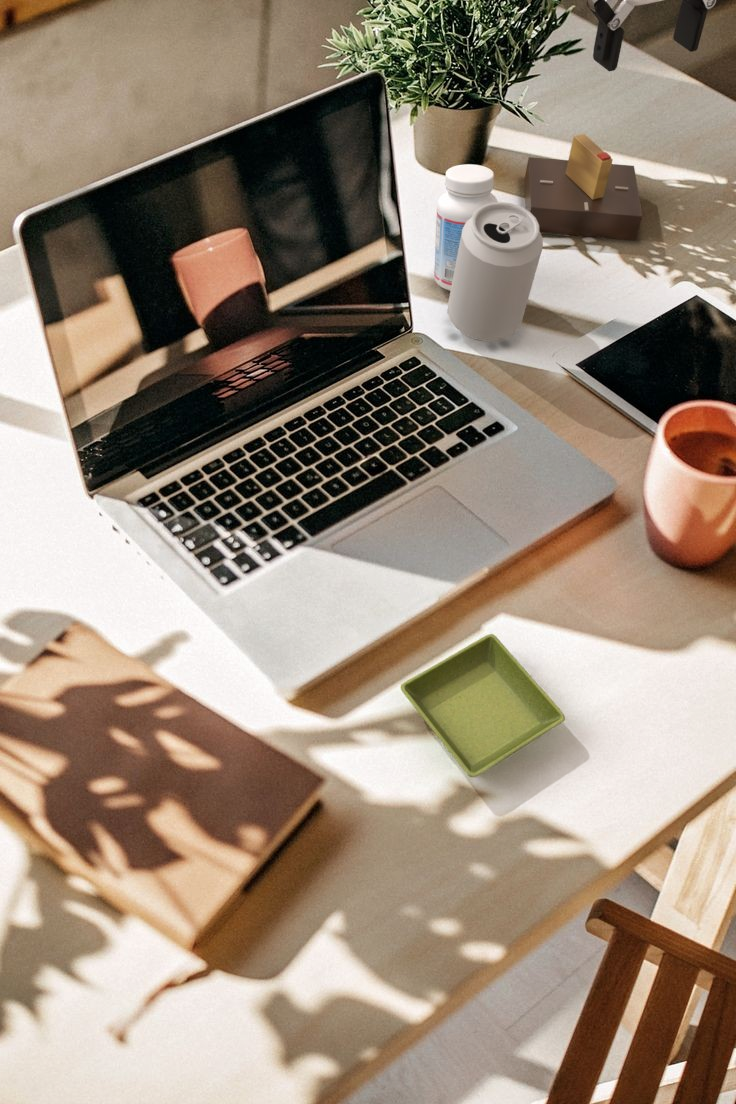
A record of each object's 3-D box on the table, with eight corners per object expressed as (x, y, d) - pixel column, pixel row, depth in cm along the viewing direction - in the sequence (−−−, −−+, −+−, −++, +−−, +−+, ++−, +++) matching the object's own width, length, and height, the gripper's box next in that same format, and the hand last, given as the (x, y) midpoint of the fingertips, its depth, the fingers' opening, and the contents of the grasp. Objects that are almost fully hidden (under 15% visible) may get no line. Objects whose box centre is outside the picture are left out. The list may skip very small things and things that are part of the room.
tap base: (627, 189, 119) (634, 164, 117) (635, 240, 113) (642, 215, 111) (524, 180, 119) (528, 155, 117) (526, 231, 113) (531, 205, 111)
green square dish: (562, 732, 75) (568, 718, 73) (467, 792, 71) (471, 779, 70) (488, 646, 79) (492, 631, 77) (395, 700, 76) (397, 685, 74)
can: (430, 313, 103) (447, 216, 92) (484, 281, 106) (506, 184, 95) (482, 358, 100) (505, 263, 90) (536, 324, 103) (564, 229, 93)
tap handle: (565, 173, 115) (573, 133, 111) (575, 171, 116) (584, 131, 112) (592, 200, 112) (602, 159, 108) (603, 197, 113) (613, 157, 109)
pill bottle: (505, 283, 106) (515, 174, 98) (460, 301, 103) (468, 190, 96) (464, 262, 109) (472, 156, 102) (421, 279, 107) (425, 170, 99)
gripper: (741, -171, 94) (691, 23, 107) (581, -144, 89) (550, 56, 102) (796, -144, 89) (738, 54, 103) (632, -114, 84) (593, 90, 98)
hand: (644, 55), depth 102 cm, fingers open, 9 cm apart
